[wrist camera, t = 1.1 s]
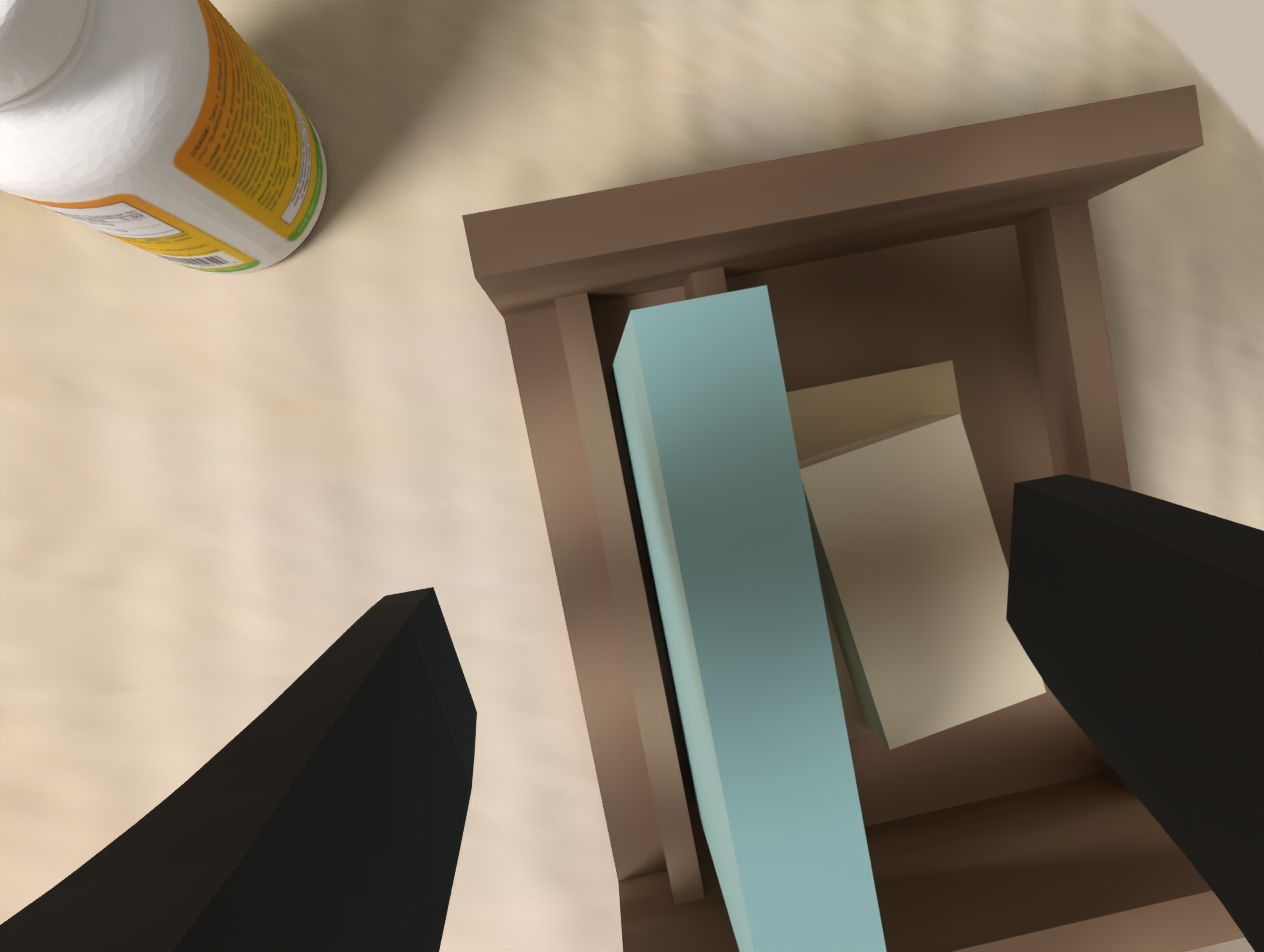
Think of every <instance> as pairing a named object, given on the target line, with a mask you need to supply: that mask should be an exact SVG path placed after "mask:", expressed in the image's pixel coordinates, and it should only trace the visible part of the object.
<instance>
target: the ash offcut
mask: <svg viewBox="0 0 1264 952" xmlns="http://www.w3.org/2000/svg"><path fill="white" fill-rule="evenodd" d="M798 462H799V468H800V473H801V479H802V484H803V490H804V495H805V501H806V506H807V512H808V518H809V523H810V529H811V534H812V540H813V545H814V551H815V556H816V562H817V568H818V573H819V579H820V584H821V590H822V593H823V596H824V599H825V602H826V605H827V608H828V611H829V614H830V617H831V620H832V623H833V626H834V629H835V632H836V635H837V638H838V641H839V644H840V647H841V650H842V654H843V657H844V660H845V663H846V666H847V669H848V672H849V675H850V678H851V681H852V684H853V687H854V690H855V693H856V696H857V699H858V702H859V705H860V708H861V711H862V714H863V717H864V720H865V723H866V726H867V727H868V728H869V729H870V730H871V731H872V732H873V733H874V734H875V735H876V736H877V737H878V738H879V739H880V740H881V741H882V742H883V743H884V744H885V745H886V746H887V747H888V748H889V749H890V750H891V749H894V748H897V747H899V746H902V745H905V744H907V743H910V742H913V741H916V740H918V739H921V738H924V737H926V736H929V735H932V734H935V733H937V732H940V731H943V730H946V729H948V728H951V727H954V726H956V725H959V724H962V723H965V722H967V721H970V720H973V719H975V718H978V717H981V716H984V715H986V714H989V713H992V712H994V711H997V710H1000V709H1003V708H1005V707H1008V706H1011V705H1013V704H1016V703H1019V702H1022V701H1024V700H1027V699H1030V698H1032V697H1035V696H1038V695H1041V694H1043V693H1046V690H1045V687H1044V684H1043V680H1042V678H1041V676H1040V674H1039V673H1038V671H1037V670H1036V668H1035V667H1034V665H1033V664H1032V662H1031V660H1030V659H1029V657H1028V656H1027V654H1026V652H1025V651H1024V649H1023V647H1022V645H1021V644H1020V642H1019V640H1018V639H1017V637H1016V635H1015V634H1014V632H1013V630H1012V629H1011V627H1010V625H1009V624H1008V622H1007V620H1006V612H1007V596H1008V579H1009V571H1008V568H1007V564H1006V561H1005V558H1004V555H1003V551H1002V548H1001V545H1000V542H999V539H998V535H997V532H996V529H995V526H994V522H993V519H992V516H991V513H990V510H989V506H988V503H987V500H986V497H985V493H984V490H983V487H982V484H981V481H980V477H979V474H978V471H977V468H976V464H975V461H974V458H973V455H972V452H971V448H970V445H969V442H968V439H967V435H966V432H965V429H964V426H963V423H962V419H961V416H960V414H945V415H930V416H927V417H924V418H921V419H918V420H915V421H913V422H910V423H907V424H904V425H901V426H898V427H895V428H893V429H890V430H887V431H884V432H881V433H878V434H875V435H873V436H870V437H867V438H864V439H861V440H858V441H855V442H853V443H850V444H847V445H844V446H841V447H838V448H835V449H833V450H830V451H827V452H824V453H821V454H818V455H815V456H813V457H810V458H807V459H804V460H801V461H798Z"/></svg>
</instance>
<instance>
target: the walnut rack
mask: <svg viewBox="0 0 1264 952" xmlns="http://www.w3.org/2000/svg"><path fill="white" fill-rule="evenodd" d="M1202 145H1204V144H1203V137H1202V130H1201V122H1200V115H1199V108H1198V101H1197V94H1196V87H1195V85H1192V86H1186V87H1181V88H1175V89H1170V90H1164V91H1158V92H1153V93H1147V94H1141V95H1136V96H1130V97H1125V98H1119V99H1113V100H1108V101H1102V102H1097V103H1091V104H1085V105H1080V106H1074V107H1069V108H1063V109H1057V110H1052V111H1046V112H1040V113H1035V114H1029V115H1024V116H1018V117H1012V118H1007V119H1001V120H996V121H990V122H984V123H979V124H973V125H968V126H962V127H956V128H951V129H945V130H939V131H934V132H928V133H923V134H917V135H911V136H906V137H900V138H895V139H889V140H883V141H878V142H872V143H867V144H861V145H855V146H850V147H844V148H838V149H833V150H827V151H822V152H816V153H810V154H805V155H799V156H794V157H788V158H782V159H777V160H771V161H766V162H760V163H754V164H749V165H743V166H737V167H732V168H726V169H721V170H715V171H709V172H704V173H698V174H693V175H687V176H681V177H676V178H670V179H665V180H659V181H653V182H648V183H642V184H636V185H631V186H625V187H620V188H614V189H608V190H603V191H597V192H592V193H586V194H580V195H575V196H569V197H564V198H558V199H552V200H547V201H541V202H535V203H530V204H524V205H519V206H513V207H507V208H502V209H496V210H491V211H485V212H479V213H474V214H468V215H463V216H462V217H463V222H464V226H465V231H466V236H467V241H468V246H469V251H470V256H471V261H472V266H473V270H474V275H475V278H476V280H477V281H478V283H479V284H480V285H481V287H482V288H483V290H484V291H485V292H486V294H487V295H488V297H489V298H490V299H491V301H492V302H493V304H494V305H495V306H496V308H497V309H498V311H499V312H500V314H501V315H502V316H503V318H504V319H505V324H506V329H507V334H508V339H509V344H510V349H511V354H512V359H513V364H514V369H515V374H516V379H517V384H518V389H519V393H520V398H521V403H522V408H523V413H524V418H525V423H526V428H527V433H528V438H529V443H530V448H531V453H532V458H533V462H534V467H535V472H536V477H537V482H538V487H539V492H540V497H541V502H542V507H543V512H544V517H545V522H546V527H547V532H548V536H549V541H550V546H551V551H552V556H553V561H554V566H555V571H556V576H557V581H558V586H559V591H560V596H561V601H562V605H563V610H564V615H565V620H566V625H567V630H568V635H569V640H570V645H571V650H572V655H573V660H574V665H575V670H576V674H577V679H578V684H579V689H580V694H581V699H582V704H583V709H584V714H585V719H586V724H587V729H588V734H589V739H590V744H591V748H592V753H593V758H594V763H595V768H596V773H597V778H598V783H599V788H600V793H601V798H602V803H603V808H604V813H605V817H606V822H607V827H608V832H609V837H610V842H611V847H612V852H613V857H614V862H615V867H616V872H617V877H618V882H619V896H620V911H621V925H622V940H623V952H740V951H739V948H738V944H737V941H736V938H735V934H734V931H733V927H732V924H731V921H730V917H729V914H728V910H727V907H726V904H725V900H724V897H723V893H722V890H721V887H720V883H719V880H718V876H717V873H716V870H715V866H714V863H713V859H712V856H711V853H710V849H709V846H708V842H707V839H706V836H705V832H704V829H703V825H702V822H701V819H700V815H699V812H698V808H697V805H696V802H695V797H694V792H693V787H692V782H691V777H690V771H689V766H688V761H687V756H686V751H685V746H684V741H683V735H682V730H681V725H680V720H679V715H678V710H677V705H676V699H675V694H674V689H673V684H672V679H671V674H670V669H669V663H668V658H667V653H666V648H665V643H664V638H663V633H662V627H661V622H660V617H659V612H658V607H657V602H656V597H655V591H654V586H653V581H652V576H651V571H650V566H649V561H648V556H647V550H646V545H645V540H644V535H643V530H642V525H641V520H640V514H639V509H638V504H637V499H636V494H635V489H634V484H633V478H632V473H631V468H630V463H629V458H628V453H627V448H626V442H625V437H624V432H623V427H622V422H621V417H620V412H619V406H618V401H617V396H616V391H615V386H614V381H613V376H612V370H611V368H612V365H613V362H614V359H615V356H616V353H617V350H618V347H619V344H620V341H621V338H622V335H623V332H624V329H625V326H626V323H627V320H628V317H629V314H630V311H631V310H636V309H642V308H647V307H652V306H658V305H663V304H668V303H674V302H679V301H684V300H690V299H695V298H701V297H706V296H711V295H717V294H722V293H727V292H733V291H738V290H743V289H749V288H754V287H759V286H765V285H767V290H768V295H769V301H770V306H771V312H772V317H773V323H774V328H775V334H776V340H777V345H778V351H779V356H780V362H781V367H782V373H783V379H784V384H785V390H786V392H791V391H796V390H802V389H807V388H812V387H817V386H822V385H827V384H832V383H838V382H843V381H848V380H853V379H858V378H863V377H869V376H874V375H879V374H884V373H889V372H894V371H899V370H905V369H910V368H915V367H920V366H925V365H930V364H936V363H941V362H946V361H951V360H952V362H953V368H954V374H955V380H956V386H957V392H958V398H959V404H960V410H961V416H962V422H963V426H964V429H965V432H966V435H967V439H968V442H969V445H970V448H971V452H972V455H973V458H974V461H975V464H976V468H977V471H978V474H979V477H980V481H981V484H982V487H983V490H984V493H985V497H986V500H987V503H988V506H989V510H990V513H991V516H992V519H993V522H994V526H995V529H996V532H997V535H998V539H999V542H1000V545H1001V548H1002V551H1003V555H1004V558H1005V561H1006V564H1007V568H1008V571H1009V562H1010V546H1011V529H1012V512H1013V495H1014V483H1018V482H1023V481H1029V480H1034V479H1040V478H1045V477H1051V476H1057V475H1062V474H1067V475H1072V476H1077V477H1082V478H1086V479H1090V480H1095V481H1099V482H1102V483H1106V484H1110V485H1113V486H1117V487H1120V488H1124V489H1127V490H1131V486H1130V479H1129V473H1128V466H1127V460H1126V453H1125V446H1124V440H1123V433H1122V427H1121V420H1120V413H1119V407H1118V400H1117V394H1116V387H1115V380H1114V374H1113V367H1112V360H1111V354H1110V347H1109V341H1108V334H1107V327H1106V321H1105V314H1104V308H1103V301H1102V294H1101V288H1100V281H1099V275H1098V268H1097V261H1096V255H1095V248H1094V242H1093V235H1092V228H1091V222H1090V215H1089V208H1088V202H1087V200H1088V199H1090V198H1093V197H1095V196H1097V195H1099V194H1101V193H1103V192H1105V191H1107V190H1109V189H1111V188H1113V187H1116V186H1118V185H1120V184H1122V183H1124V182H1126V181H1128V180H1130V179H1132V178H1134V177H1137V176H1139V175H1141V174H1143V173H1145V172H1147V171H1149V170H1151V169H1153V168H1155V167H1158V166H1160V165H1162V164H1164V163H1166V162H1168V161H1170V160H1172V159H1174V158H1176V157H1179V156H1181V155H1183V154H1185V153H1187V152H1189V151H1191V150H1193V149H1195V148H1197V147H1200V146H1202ZM1042 680H1043V679H1042ZM1043 684H1044V687H1045V690H1046V693H1043V694H1041V695H1038V696H1035V697H1032V698H1030V699H1027V700H1024V701H1022V702H1019V703H1016V704H1013V705H1011V706H1008V707H1005V708H1003V709H1000V710H997V711H994V712H992V713H989V714H986V715H984V716H981V717H978V718H975V719H973V720H970V721H967V722H965V723H962V724H959V725H956V726H954V727H951V728H948V729H946V730H943V731H940V732H937V733H935V734H932V735H929V736H926V737H924V738H921V739H918V740H916V741H913V742H910V743H907V744H905V745H902V746H899V747H897V748H894V749H891V750H890V749H889V748H888V747H887V746H886V745H885V744H884V743H883V742H882V741H881V740H880V739H879V738H878V737H877V736H876V735H875V734H874V733H873V734H869V735H864V736H859V737H855V738H850V739H848V740H849V746H850V751H851V757H852V762H853V768H854V773H855V779H856V785H857V790H858V796H859V801H860V807H861V812H862V818H863V823H864V829H865V835H866V840H867V846H868V851H869V857H870V862H871V868H872V874H873V879H874V885H875V890H876V896H877V901H878V907H879V912H880V918H881V924H882V929H883V935H884V940H885V946H886V951H887V952H1184V951H1188V950H1192V949H1196V948H1201V947H1205V946H1209V945H1213V944H1217V943H1222V942H1226V941H1230V940H1234V939H1238V938H1243V937H1245V936H1244V935H1243V933H1242V932H1241V930H1240V929H1239V927H1238V926H1237V925H1236V923H1235V922H1234V920H1233V919H1232V917H1231V916H1230V914H1229V913H1228V911H1227V910H1226V909H1225V907H1224V906H1223V904H1222V903H1221V901H1220V900H1219V899H1218V897H1217V896H1216V895H1215V893H1214V892H1213V891H1212V889H1211V888H1210V887H1209V886H1208V884H1207V883H1206V882H1205V880H1204V879H1203V878H1202V876H1201V875H1200V874H1199V873H1198V871H1197V870H1196V869H1195V867H1194V866H1193V865H1192V863H1191V862H1190V861H1189V859H1188V858H1187V857H1186V856H1185V854H1184V853H1183V852H1182V851H1181V850H1180V848H1179V847H1178V846H1177V845H1176V844H1175V842H1174V841H1173V840H1172V839H1171V837H1170V836H1169V835H1168V834H1167V833H1166V831H1165V830H1164V829H1163V828H1162V827H1161V825H1160V824H1159V823H1158V822H1157V821H1156V819H1155V818H1154V817H1153V816H1152V815H1151V813H1150V812H1149V811H1148V810H1147V808H1146V807H1145V806H1144V805H1143V804H1142V802H1141V801H1140V800H1139V799H1138V798H1137V796H1136V795H1135V794H1134V793H1133V792H1132V790H1131V789H1130V788H1129V787H1128V786H1127V784H1126V783H1125V782H1124V781H1123V779H1122V778H1121V777H1120V776H1119V775H1118V773H1117V772H1116V771H1115V770H1114V769H1113V767H1112V766H1111V765H1110V764H1109V763H1108V761H1107V760H1106V759H1105V758H1104V757H1103V755H1102V754H1101V753H1100V752H1099V750H1098V749H1097V748H1096V747H1095V746H1094V744H1093V743H1092V742H1091V741H1090V740H1089V738H1088V737H1087V736H1086V735H1085V733H1084V732H1083V731H1082V730H1081V728H1080V727H1079V726H1078V725H1077V723H1076V722H1075V721H1074V720H1073V719H1072V717H1071V716H1070V715H1069V714H1068V712H1067V711H1066V710H1065V709H1064V707H1063V706H1062V705H1061V704H1060V702H1059V701H1058V700H1057V699H1056V697H1055V696H1054V695H1053V694H1052V692H1051V691H1050V690H1049V688H1048V687H1047V685H1046V684H1045V682H1044V681H1043Z"/></svg>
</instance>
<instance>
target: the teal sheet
mask: <svg viewBox="0 0 1264 952" xmlns="http://www.w3.org/2000/svg"><path fill="white" fill-rule="evenodd" d="M611 370H612V376H613V381H614V386H615V391H616V396H617V401H618V406H619V412H620V417H621V422H622V427H623V432H624V437H625V442H626V448H627V453H628V458H629V463H630V468H631V473H632V478H633V484H634V489H635V494H636V499H637V504H638V509H639V514H640V520H641V525H642V530H643V535H644V540H645V545H646V550H647V556H648V561H649V566H650V571H651V576H652V581H653V586H654V591H655V597H656V602H657V607H658V612H659V617H660V622H661V627H662V633H663V638H664V643H665V648H666V653H667V658H668V663H669V669H670V674H671V679H672V684H673V689H674V694H675V699H676V705H677V710H678V715H679V720H680V725H681V730H682V735H683V741H684V746H685V751H686V756H687V761H688V766H689V771H690V777H691V782H692V787H693V792H694V797H695V802H696V805H697V808H698V812H699V815H700V819H701V822H702V825H703V829H704V832H705V836H706V839H707V842H708V846H709V849H710V853H711V856H712V859H713V863H714V866H715V870H716V873H717V876H718V880H719V883H720V887H721V890H722V893H723V897H724V900H725V904H726V907H727V910H728V914H729V917H730V921H731V924H732V927H733V931H734V934H735V938H736V941H737V944H738V948H739V951H740V952H887V951H886V946H885V940H884V935H883V929H882V924H881V918H880V912H879V907H878V901H877V896H876V890H875V885H874V879H873V874H872V868H871V862H870V857H869V851H868V846H867V840H866V835H865V829H864V823H863V818H862V812H861V807H860V801H859V796H858V790H857V785H856V779H855V773H854V768H853V762H852V757H851V751H850V746H849V740H848V734H847V729H846V723H845V718H844V712H843V707H842V701H841V696H840V690H839V684H838V679H837V673H836V668H835V662H834V657H833V651H832V645H831V640H830V634H829V629H828V623H827V618H826V612H825V607H824V601H823V595H822V590H821V584H820V579H819V573H818V568H817V562H816V556H815V551H814V545H813V540H812V534H811V529H810V523H809V518H808V512H807V506H806V501H805V495H804V490H803V484H802V479H801V473H800V468H799V462H798V456H797V451H796V445H795V440H794V434H793V429H792V423H791V417H790V412H789V406H788V401H787V395H786V390H785V384H784V379H783V373H782V367H781V362H780V356H779V351H778V345H777V340H776V334H775V328H774V323H773V317H772V312H771V306H770V301H769V295H768V290H767V285H765V286H759V287H754V288H749V289H743V290H738V291H733V292H727V293H722V294H717V295H711V296H706V297H701V298H695V299H690V300H684V301H679V302H674V303H668V304H663V305H658V306H652V307H647V308H642V309H636V310H631V311H630V314H629V317H628V320H627V323H626V326H625V329H624V332H623V335H622V338H621V341H620V344H619V347H618V350H617V353H616V356H615V359H614V362H613V365H612V368H611Z"/></svg>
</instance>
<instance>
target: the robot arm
mask: <svg viewBox="0 0 1264 952" xmlns="http://www.w3.org/2000/svg"><path fill="white" fill-rule="evenodd" d="M1006 620H1007V622H1008V624H1009V625H1010V627H1011V629H1012V630H1013V632H1014V634H1015V635H1016V637H1017V639H1018V640H1019V642H1020V644H1021V645H1022V647H1023V649H1024V651H1025V652H1026V654H1027V656H1028V657H1029V659H1030V660H1031V662H1032V664H1033V665H1034V667H1035V668H1036V670H1037V671H1038V673H1039V674H1040V676H1041V678H1042V679H1043V681H1044V682H1045V684H1046V685H1047V687H1048V688H1049V690H1050V691H1051V692H1052V694H1053V695H1054V696H1055V697H1056V699H1057V700H1058V701H1059V702H1060V704H1061V705H1062V706H1063V707H1064V709H1065V710H1066V711H1067V712H1068V714H1069V715H1070V716H1071V717H1072V719H1073V720H1074V721H1075V722H1076V723H1077V725H1078V726H1079V727H1080V728H1081V730H1082V731H1083V732H1084V733H1085V735H1086V736H1087V737H1088V738H1089V740H1090V741H1091V742H1092V743H1093V744H1094V746H1095V747H1096V748H1097V749H1098V750H1099V752H1100V753H1101V754H1102V755H1103V757H1104V758H1105V759H1106V760H1107V761H1108V763H1109V764H1110V765H1111V766H1112V767H1113V769H1114V770H1115V771H1116V772H1117V773H1118V775H1119V776H1120V777H1121V778H1122V779H1123V781H1124V782H1125V783H1126V784H1127V786H1128V787H1129V788H1130V789H1131V790H1132V792H1133V793H1134V794H1135V795H1136V796H1137V798H1138V799H1139V800H1140V801H1141V802H1142V804H1143V805H1144V806H1145V807H1146V808H1147V810H1148V811H1149V812H1150V813H1151V815H1152V816H1153V817H1154V818H1155V819H1156V821H1157V822H1158V823H1159V824H1160V825H1161V827H1162V828H1163V829H1164V830H1165V831H1166V833H1167V834H1168V835H1169V836H1170V837H1171V839H1172V840H1173V841H1174V842H1175V844H1176V845H1177V846H1178V847H1179V848H1180V850H1181V851H1182V852H1183V853H1184V854H1185V856H1186V857H1187V858H1188V859H1189V861H1190V862H1191V863H1192V865H1193V866H1194V867H1195V869H1196V870H1197V871H1198V873H1199V874H1200V875H1201V876H1202V878H1203V879H1204V880H1205V882H1206V883H1207V884H1208V886H1209V887H1210V888H1211V889H1212V891H1213V892H1214V893H1215V895H1216V896H1217V897H1218V899H1219V900H1220V901H1221V903H1222V904H1223V906H1224V907H1225V909H1226V910H1227V911H1228V913H1229V914H1230V916H1231V917H1232V919H1233V920H1234V922H1235V923H1236V925H1237V926H1238V927H1239V929H1240V930H1241V932H1242V933H1243V935H1244V936H1245V938H1246V939H1247V941H1248V942H1249V943H1250V945H1251V946H1252V948H1253V949H1254V951H1255V952H1264V531H1262V530H1259V529H1256V528H1252V527H1249V526H1246V525H1242V524H1239V523H1236V522H1233V521H1229V520H1226V519H1223V518H1219V517H1216V516H1213V515H1210V514H1206V513H1203V512H1200V511H1197V510H1193V509H1190V508H1187V507H1184V506H1180V505H1177V504H1174V503H1171V502H1167V501H1164V500H1161V499H1158V498H1154V497H1151V496H1148V495H1144V494H1141V493H1138V492H1134V491H1131V490H1127V489H1124V488H1120V487H1117V486H1113V485H1110V484H1106V483H1102V482H1099V481H1095V480H1090V479H1086V478H1082V477H1077V476H1072V475H1067V474H1062V475H1057V476H1051V477H1045V478H1040V479H1034V480H1029V481H1023V482H1018V483H1014V495H1013V512H1012V529H1011V546H1010V562H1009V579H1008V596H1007V612H1006ZM476 719H477V711H476V708H475V705H474V702H473V700H472V697H471V694H470V691H469V688H468V685H467V682H466V680H465V677H464V674H463V671H462V668H461V665H460V662H459V659H458V657H457V654H456V651H455V648H454V645H453V642H452V639H451V637H450V634H449V631H448V628H447V625H446V622H445V619H444V617H443V614H442V611H441V608H440V605H439V602H438V599H437V597H436V594H435V591H434V588H433V587H432V588H426V589H420V590H415V591H409V592H404V593H398V594H393V595H387V596H385V597H383V598H382V599H381V600H380V601H378V602H377V603H376V604H375V605H374V606H372V607H371V608H370V609H369V610H368V611H367V612H366V613H365V614H364V615H363V616H361V617H360V618H359V619H358V620H357V621H356V622H355V623H354V624H353V625H352V626H351V627H350V628H349V629H348V630H347V631H346V632H345V633H344V634H343V635H342V636H341V637H340V638H339V639H338V640H337V641H336V642H335V643H334V644H333V645H332V646H330V647H329V648H328V649H327V650H326V651H325V652H324V653H323V654H322V655H321V656H320V657H319V658H318V659H317V660H316V661H315V662H314V663H313V664H312V665H311V666H310V667H309V668H308V669H307V670H306V671H305V672H304V673H303V674H302V675H301V676H300V677H299V678H298V679H297V680H296V681H295V682H294V683H293V684H291V685H290V686H289V687H288V688H287V689H286V690H285V691H284V692H283V693H282V694H281V695H280V696H279V697H278V698H277V699H276V700H275V701H274V702H273V703H272V704H271V705H270V706H269V707H268V708H267V709H266V710H265V711H264V712H262V713H261V714H260V715H259V716H258V717H257V718H256V719H255V720H254V721H252V722H251V723H250V724H249V725H248V726H247V727H246V728H245V729H244V730H243V731H241V732H240V733H239V734H238V735H237V736H236V737H235V738H234V739H233V740H231V741H230V742H229V743H228V744H227V745H226V746H225V747H224V748H223V749H221V750H220V751H219V752H218V753H217V754H216V755H215V756H214V757H213V758H211V759H210V760H209V761H208V762H207V763H206V764H205V765H204V766H203V767H202V768H200V769H199V770H198V771H197V772H196V773H195V774H194V775H193V776H192V777H190V778H189V779H188V780H187V781H186V782H185V783H184V784H183V785H181V786H180V787H179V788H178V789H177V790H175V791H174V792H173V793H172V794H171V795H170V796H168V797H167V798H166V799H165V800H164V801H162V802H161V803H160V804H159V805H158V806H156V807H155V808H154V809H153V810H152V811H150V812H149V813H148V814H147V815H145V816H144V817H143V818H142V819H141V820H139V821H138V822H137V823H136V824H135V825H133V826H132V827H131V828H129V829H128V830H127V831H126V832H124V833H123V834H122V835H121V836H119V837H118V838H117V839H115V840H114V841H113V842H112V843H110V844H109V845H108V846H106V847H105V848H104V849H103V850H101V851H100V852H99V853H98V854H96V855H95V856H94V857H92V858H91V859H90V860H89V861H87V862H86V863H85V864H83V865H82V866H81V867H80V868H78V869H77V870H76V871H74V872H73V873H72V874H70V875H69V876H68V877H66V878H65V879H64V880H62V881H61V882H60V883H58V884H57V885H56V886H54V887H53V888H52V889H51V890H49V891H48V892H46V893H45V894H43V895H42V896H41V897H39V898H38V899H36V900H35V901H34V902H32V903H31V904H29V905H28V906H26V907H25V908H24V909H22V910H21V911H19V912H18V913H17V914H15V915H14V916H12V917H11V918H10V919H8V920H7V921H5V922H4V923H2V924H1V925H0V952H439V949H440V944H441V939H442V934H443V930H444V925H445V920H446V915H447V910H448V905H449V900H450V895H451V890H452V885H453V881H454V876H455V871H456V866H457V861H458V856H459V851H460V846H461V841H462V836H463V831H464V826H465V821H466V816H467V810H468V805H469V800H470V794H471V789H472V778H473V766H474V754H475V736H476Z"/></svg>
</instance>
